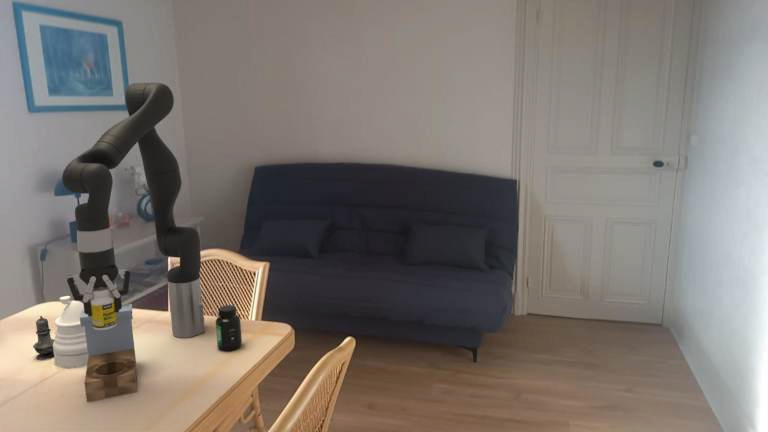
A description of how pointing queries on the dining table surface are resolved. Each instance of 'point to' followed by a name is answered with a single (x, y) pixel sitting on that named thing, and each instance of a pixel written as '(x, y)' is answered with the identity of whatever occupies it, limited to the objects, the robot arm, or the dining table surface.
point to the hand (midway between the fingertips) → (104, 312)
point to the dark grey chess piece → (43, 340)
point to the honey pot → (70, 336)
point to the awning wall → (109, 333)
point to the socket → (110, 375)
